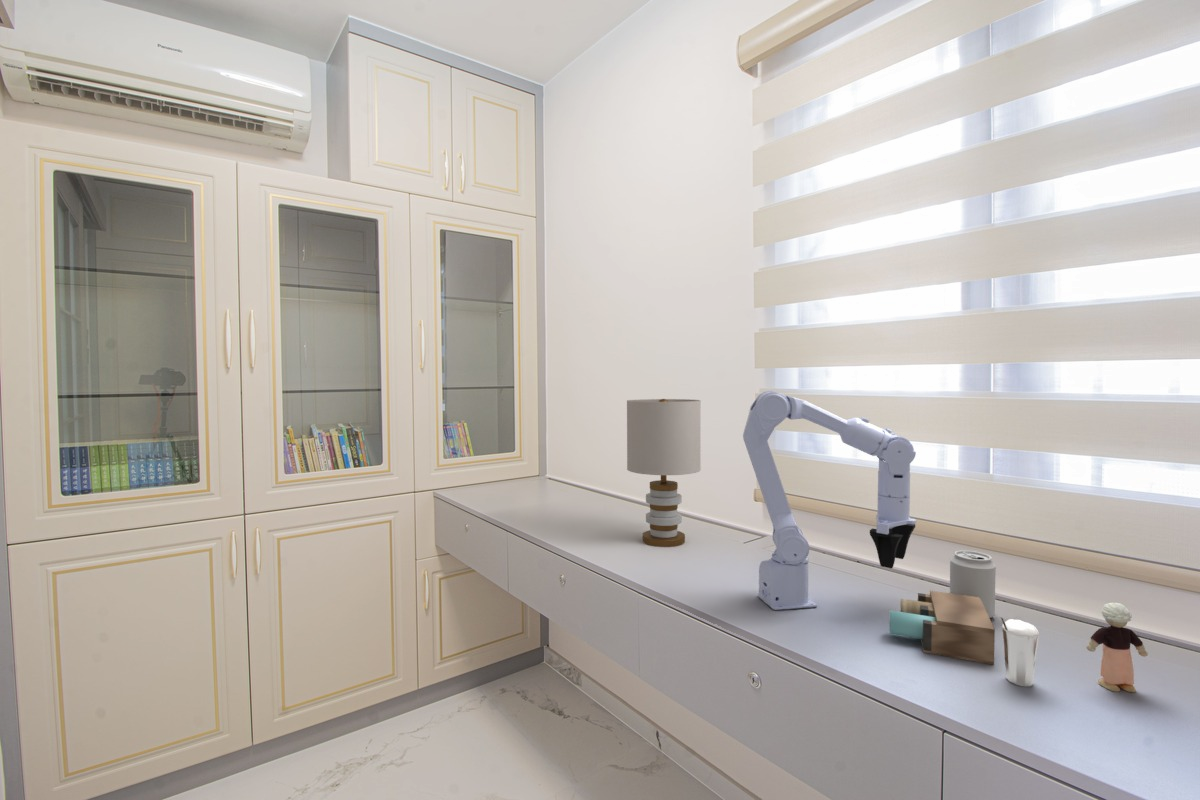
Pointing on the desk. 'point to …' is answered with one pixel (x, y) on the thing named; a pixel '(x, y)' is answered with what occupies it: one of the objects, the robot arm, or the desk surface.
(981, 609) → the walnut block
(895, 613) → the teal peg
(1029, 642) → the milkshake
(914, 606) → the beech peg
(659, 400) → the lamp
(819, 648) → the desk surface
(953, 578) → the can
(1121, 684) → the grandmother figurine
